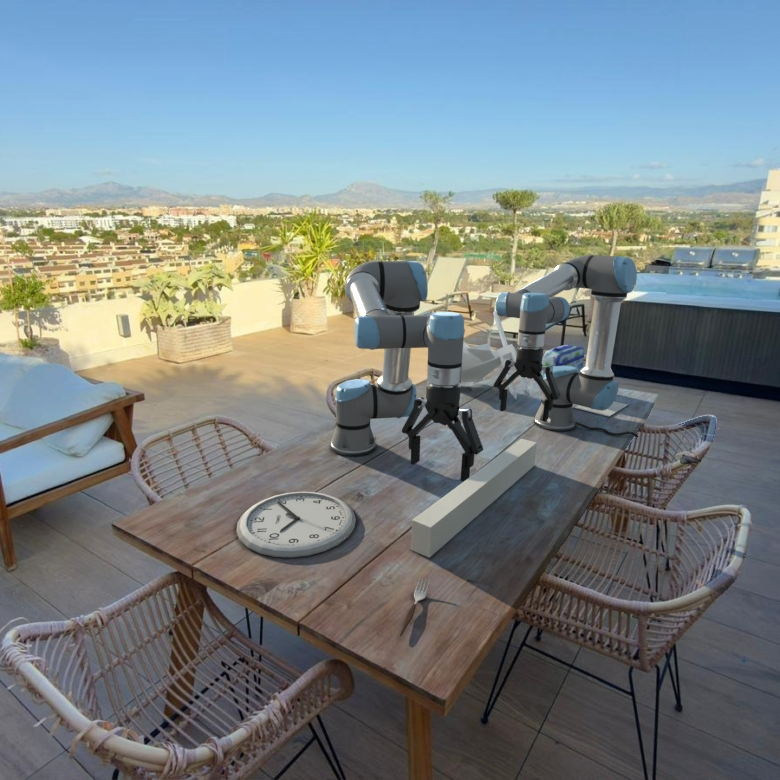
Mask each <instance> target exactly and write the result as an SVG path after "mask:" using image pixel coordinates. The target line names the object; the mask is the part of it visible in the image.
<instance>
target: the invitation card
mask: <svg viewBox="0 0 780 780" xmlns="http://www.w3.org/2000/svg"><path fill="white" fill-rule="evenodd" d="M628 406H629V404H627V403H623V402H618V401H614V402H613V403H612V405H611V406H610V407H609V408H608V409H606V410H596V409H591V408H588V407H584V406H581V405H575V406H574V407H573V409H575V410H581V411H584V412H587V413H593V414H596V415H600V416H604V417H608V418H609V417H611V416H613V415H614V414H616V413H617V412H619V411H621V410H623V409H624V408H626V407H628Z"/></svg>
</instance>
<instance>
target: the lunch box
mask: <svg viewBox="0 0 780 780" xmlns="http://www.w3.org/2000/svg"><path fill="white" fill-rule="evenodd" d="M584 360H585V348H584V347H582V346H577V345H576V346H574V345H570V344H563V345H561V346H557V347H553V348H551V349H548V350H546V351H545V352H544V353H543V358H542V365H543V366H550V365H551V366H552V367H554V366H573V367H576V368H577V370H578V371H577V373H580V370H581V369H582V368H583V367H584ZM540 373H541V375H542V376H543V379H544V375H545V373H544V371H543V370H542V371H541V372H540Z"/></svg>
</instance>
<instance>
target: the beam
mask: <svg viewBox="0 0 780 780" xmlns="http://www.w3.org/2000/svg"><path fill="white" fill-rule="evenodd" d="M537 447H538V442H536V441H534V440H533V441H532V440H528V439H525V438H520V439H519V440H518V441H517V442H515V443H513V444H512V445H511V446H509V447H508V448H507V449H506V450H504V451H503V452H502V453H500V454H499V455H498V456H496V457H495V458H493V459H492V460H491V461H489V462H488V463H487V464H486V465H484V466H483V467H481V468H480V469H478V470H477V471H476V472H474V473H473V474H472V475H471V476H469V478H468V479H466V480H465V481H464V482H463V481H462V482H461V483H460V484H459V485H457V486H456V487H455V488H453V489H452V490H450V491H449V492H448V493H446V494H445V495H443V497H441V498H439V499H438V500H437V501H435V502H434V503H433V504H432V505H430V506H429V507H428V508H426V509H424V510H423V511H421V512H420V513H419V514H418V515H417V516H415V517H414V518H413V519H412V520H411V540H410V541H411V543H410V545H411V546H410V550H411V551H413V552H414V553H417V554H420V555H422V556H424V557H426V558H428V559H429V558H431V557H432V556H433V555H435V554H436V553H437V552H438V551H439V550H440V549H441V548H442V547H444V546H445V545H446V544H447V543H448V542H450V541H451V539H453V538H454V537H455V536H456V535H457V534H458V533H460V532H461V531H462V530H464V528H465V527H466V526H468V525H469V524H470V523H471V522H472V521H473V520H474V519H476V518H477V517H478V516H479V515H480V514H481V513H483V512H484V510H486V509H487V508H489V506H490V505H492V504H493V503H494V502H495V501H496V500H497V499H498V498H499V497H501V496H502V495H503V494H504V493H505V492H506V491H507V490H508V489H509V488H511V487H512V486H513V485H514V484H515V483H517V482H518V481H519V480H520V479H521V478H522V477H523V476H524V475H526V474H527V473H528V472H529V471H530V470H531V469H532V468H534V467H535V465H536V455H537Z"/></svg>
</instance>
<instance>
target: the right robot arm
mask: <svg viewBox="0 0 780 780" xmlns="http://www.w3.org/2000/svg"><path fill="white" fill-rule="evenodd" d="M637 274H638V272H637V266H636V264H635V261H634V260H633V259H632V258H631V257H627V256H622V255H621V256H620V255H598V254H597V255H595V254H586V255H585V254H584V255H580V256H576V257H574V258H571V259H569V260H566V261H564V262H562V263H560V264H558V265H557V266H555V268H554V269H553V271H551V272H549V273H547V274H546V275H544V276H541V277H540V278H539V279H536V280H535V281H533V282H531V283H529V284H527V285H526V286H524V287H522V288H520V289H518V290H516V291H514V292H510V291H507V292H505V291H504V292H500V293H499V294H498V296H497V297H496V300H495V303H494V306H495V311H496V313H497V314H498V316H503V317H506V318H515V319H519V323H518V333H517V334H518V335H517V345H518V346H517V347H516V352H517V354H516V361H514V360H513V359H508V360H506V362H505V367H504V368H503V367H502V370H501V372H500V373H499V375H498V377H497V378H496V380H495V381H494V383H493V387H494V388H497V389H498V400H499V401H500V407H499V411H500V412H505V411H506V410H507V402H508V392H509V388H508V385H509V384H510V383H511V382H512V381H513V382H514V381H515V380H516V379H517V378H519V375H520V376H521V377H523V378H526V379H528V380H529V379H530V380H531V379H533V381H534V382H536V384H537V385H538V387H539V389H540V390H541V391H542V394H541V402H540V405H539V407H538V410H537V411H536V413H535V416H534V424H535V425H536V426H537V427H539V428H542V429H544V430H549V431H556V432H567V431H572V430H574V429H575V428H576V425H577V426H580V427H583V428H585V429H587V430H592V431H601V432H604V433H606V434H608V435H610V436H616V437H617V436H625V435H632V436H634V437H635V438H639V435H638V434H637V433H635V432H633V431H624V432H612V431H609V430H608V429H605V428H602V427H592V426H588V425H586V424H584V423H581V422H578V421H576V418H575V417H576V416H575V413H574V407H573V405H576V406H578V405H581V406H584V407H588V408H591V409H596V410H606V409H608V408H609V407H610V406H611V405H612V403H613V402H615V399H616V398H617V395H618V391H619V382H618V381H617V380H615V373H614V372H613V371H612V369H611V367H612V361H613V354H614V348H615V343H616V336H617V330H618V324H619V319H620V313H621V305H622V302H623V301H624V300H626V299H627V297H628V294H631V293H632V292H633V291H634V290H635V287H636V284H637V280H638V279H637V278H638V275H637ZM572 289H587V290H591V292H590V296H591V298H593V300H594V303H593V309H592V316H591V323H590V330H589V336H588V344H587V350H586V356H585V364H584V366H583V368H582V369H581V370H580V373H577V371H578V370H577V368H576V367H573V366H554V367H552V366H551V365H550V366H543V365H542V359H543V356H544V348H543V347H544V346H545V338H546V327H547V325H549V324H554V323H559V322H561V321H564V320H566V318H568V316H569V314H570V311H571V307H570V303H569V301H568V300H567V299H566V298H565V297H562V296H557V295H558V294H561V293H562V292H563V291H570V290H572ZM512 367H514V368H515V370H516V371H514V372H513V373H512V374H511V377H509V378H508V379H507V380H506V377H505V376H506V375H507V373H508V372H509V371H510V370H511V368H512ZM542 370H543V371H544V373H545V375H544V379H543V376H542V375H541V371H542ZM504 380H505V381H504ZM503 381H504V382H503ZM507 388H508V389H507Z"/></svg>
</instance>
